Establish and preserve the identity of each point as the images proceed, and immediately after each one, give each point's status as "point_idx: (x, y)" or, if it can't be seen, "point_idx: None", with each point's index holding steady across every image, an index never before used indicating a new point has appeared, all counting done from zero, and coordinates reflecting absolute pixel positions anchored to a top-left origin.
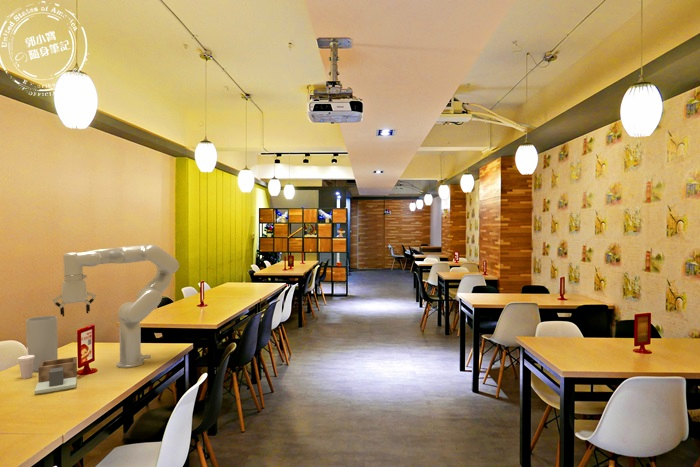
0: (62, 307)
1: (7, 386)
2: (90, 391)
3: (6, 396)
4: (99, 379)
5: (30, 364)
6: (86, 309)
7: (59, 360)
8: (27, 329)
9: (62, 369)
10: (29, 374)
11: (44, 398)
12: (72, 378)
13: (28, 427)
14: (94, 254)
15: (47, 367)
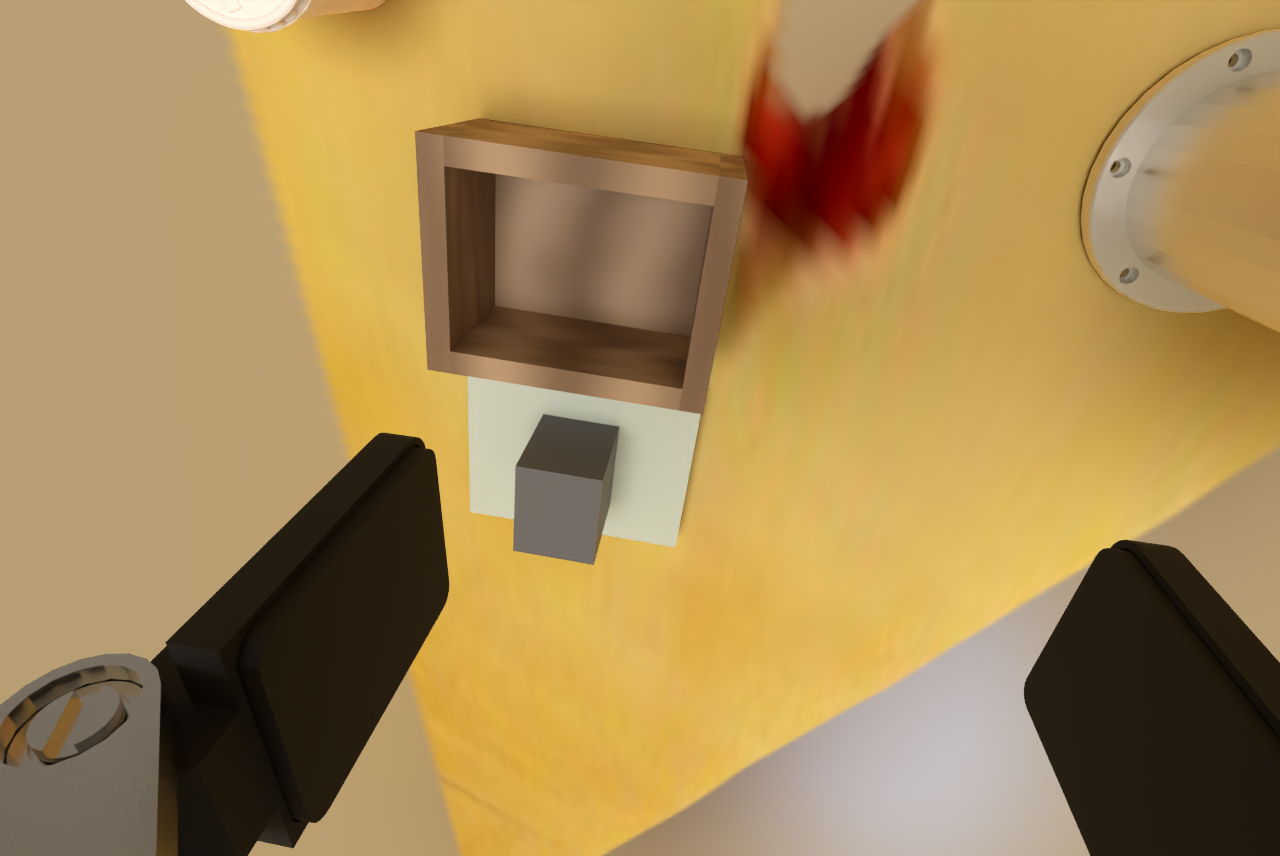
0: (240, 810)
1: (279, 169)
2: (733, 610)
3: (338, 404)
4: (835, 445)
5: (325, 4)
6: (1075, 814)
7: (583, 184)
8: None
9: (593, 537)
10: (369, 5)
11: (528, 563)
12: (674, 418)
13: (497, 782)
14: None
15: (494, 375)
